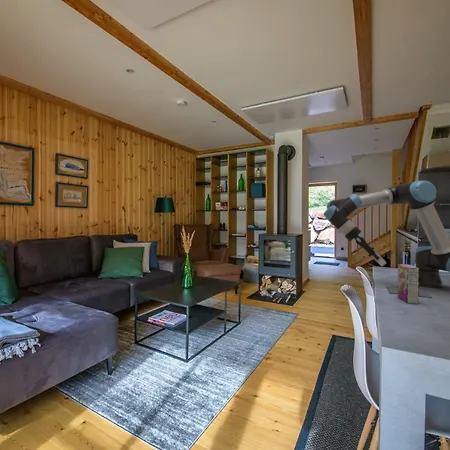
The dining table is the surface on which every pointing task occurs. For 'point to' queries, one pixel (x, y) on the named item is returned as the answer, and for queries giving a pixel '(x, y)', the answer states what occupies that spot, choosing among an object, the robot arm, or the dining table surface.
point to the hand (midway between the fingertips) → (382, 262)
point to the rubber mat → (395, 291)
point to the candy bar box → (408, 283)
